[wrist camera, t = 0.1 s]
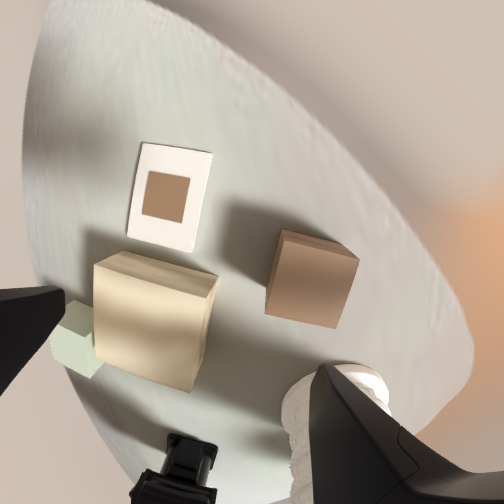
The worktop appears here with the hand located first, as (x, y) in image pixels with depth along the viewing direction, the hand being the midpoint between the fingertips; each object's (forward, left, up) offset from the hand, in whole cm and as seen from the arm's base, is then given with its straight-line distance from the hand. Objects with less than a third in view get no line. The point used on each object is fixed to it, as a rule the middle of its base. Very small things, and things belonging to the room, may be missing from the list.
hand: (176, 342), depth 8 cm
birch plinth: (-7, +5, -15) cm, 17 cm away
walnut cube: (0, -6, -15) cm, 16 cm away
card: (+3, +6, -14) cm, 16 cm away
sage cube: (-12, +13, -15) cm, 23 cm away
